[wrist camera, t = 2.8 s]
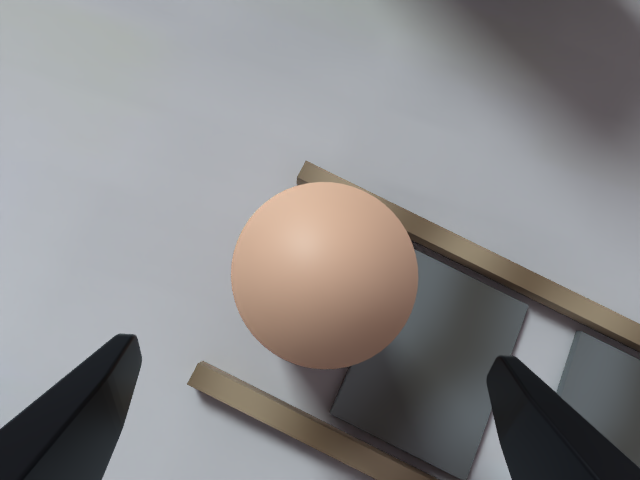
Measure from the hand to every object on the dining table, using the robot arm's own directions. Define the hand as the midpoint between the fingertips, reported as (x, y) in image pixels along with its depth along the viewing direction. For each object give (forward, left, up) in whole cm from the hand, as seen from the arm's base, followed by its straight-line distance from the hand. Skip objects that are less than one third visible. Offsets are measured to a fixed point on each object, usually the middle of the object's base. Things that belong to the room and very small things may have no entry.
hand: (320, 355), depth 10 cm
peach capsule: (+1, +1, -10) cm, 10 cm away
